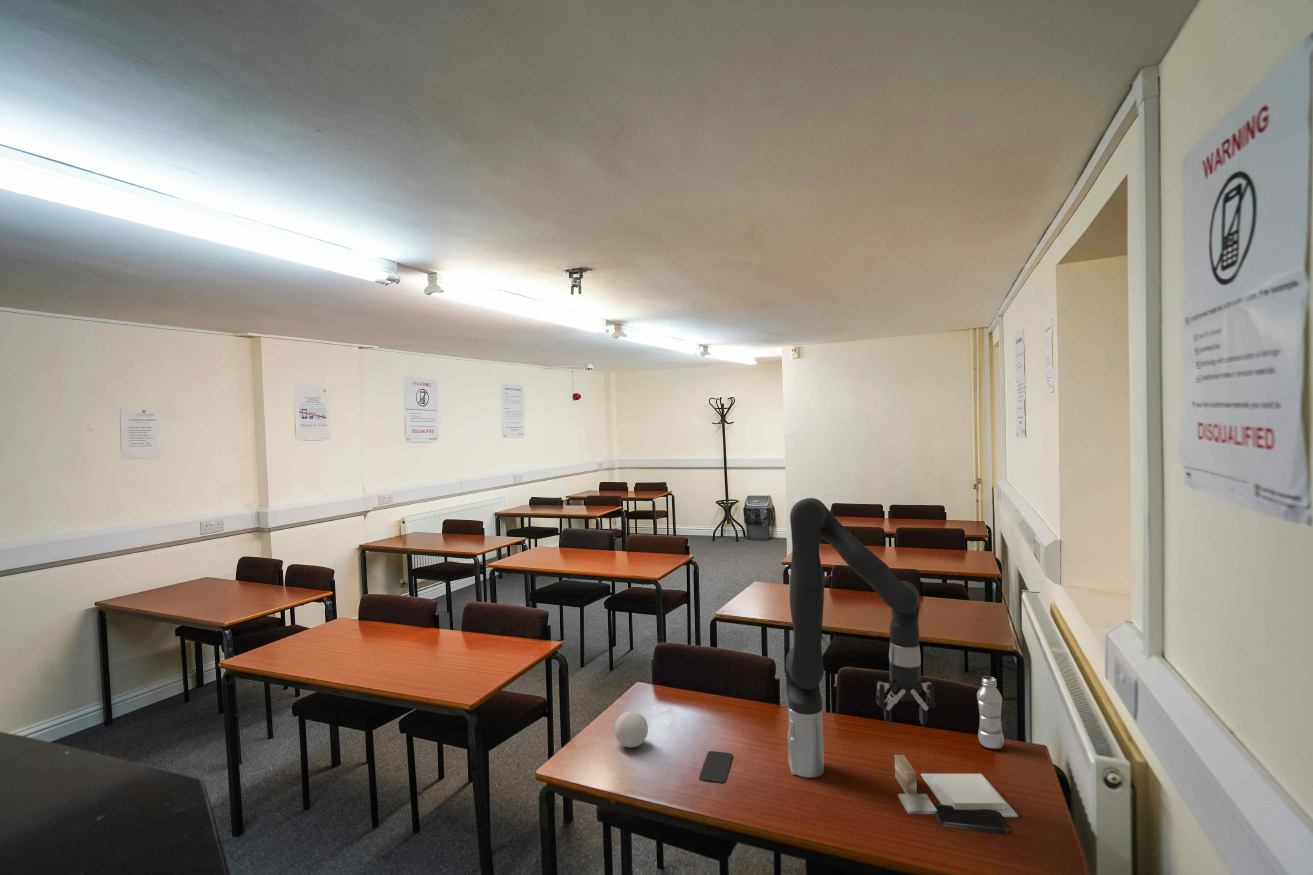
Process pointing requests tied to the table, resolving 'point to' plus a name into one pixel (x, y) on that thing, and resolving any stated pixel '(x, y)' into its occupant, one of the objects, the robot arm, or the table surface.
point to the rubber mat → (943, 800)
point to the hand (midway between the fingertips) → (905, 722)
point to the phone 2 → (971, 819)
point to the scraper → (911, 789)
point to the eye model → (631, 729)
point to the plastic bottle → (990, 714)
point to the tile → (969, 792)
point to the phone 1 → (716, 767)
